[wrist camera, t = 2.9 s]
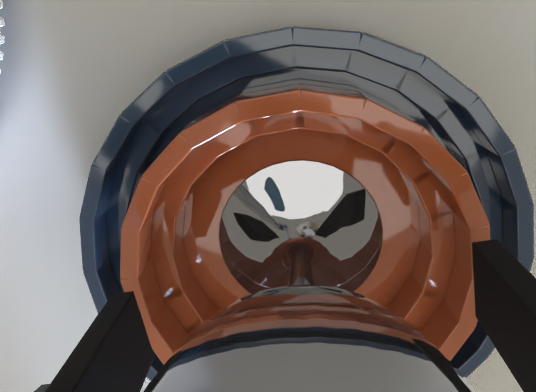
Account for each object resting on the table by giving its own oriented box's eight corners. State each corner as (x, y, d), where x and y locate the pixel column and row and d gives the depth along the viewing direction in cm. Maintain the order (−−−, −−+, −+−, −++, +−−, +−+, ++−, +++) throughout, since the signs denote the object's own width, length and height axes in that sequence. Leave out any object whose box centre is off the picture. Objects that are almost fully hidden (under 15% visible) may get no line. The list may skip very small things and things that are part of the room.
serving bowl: (55, 74, 19) (14, 82, 16) (493, -14, 17) (533, -23, 14) (164, 406, 24) (147, 455, 22) (504, 367, 22) (534, 415, 20)
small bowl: (113, 112, 19) (70, 131, 16) (443, 49, 18) (484, 55, 14) (190, 372, 24) (171, 437, 20) (462, 339, 22) (496, 403, 18)
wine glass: (292, 109, 18) (289, 369, 4) (431, 232, 20) (778, 732, 6) (173, 245, 21) (-87, 708, 6) (306, 346, 22) (331, 906, 8)
